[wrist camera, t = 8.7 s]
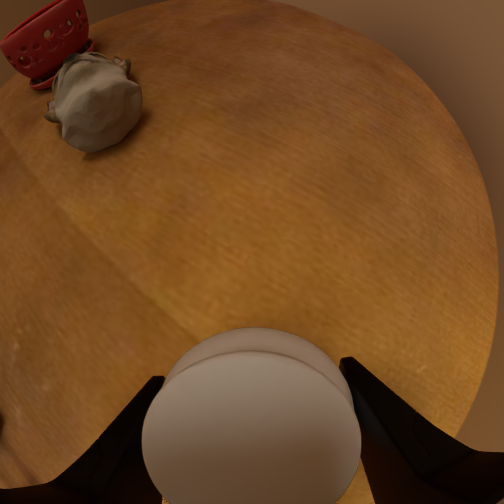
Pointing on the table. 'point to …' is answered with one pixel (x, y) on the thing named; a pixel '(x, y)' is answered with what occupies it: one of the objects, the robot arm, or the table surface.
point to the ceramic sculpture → (94, 101)
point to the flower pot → (48, 41)
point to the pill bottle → (252, 423)
